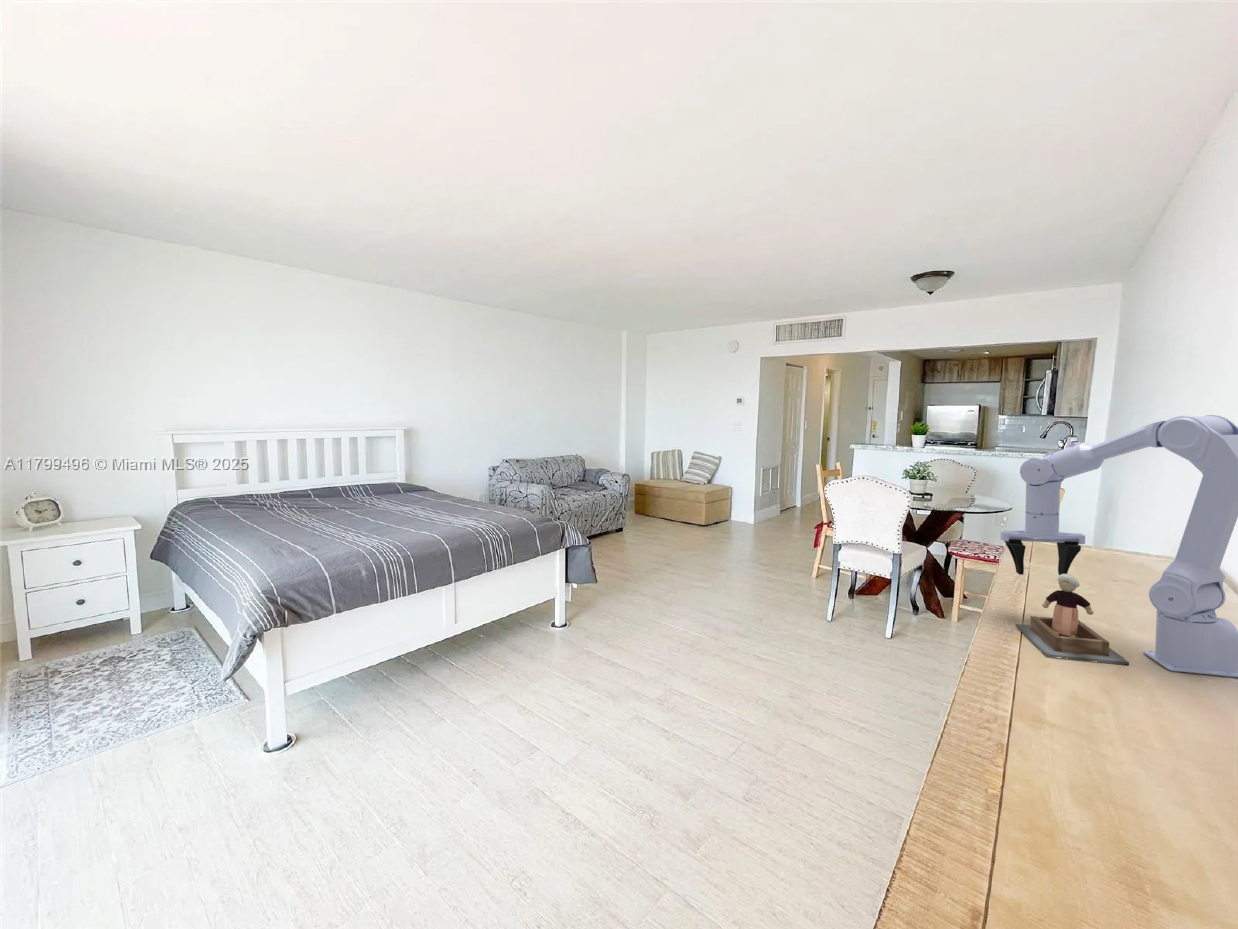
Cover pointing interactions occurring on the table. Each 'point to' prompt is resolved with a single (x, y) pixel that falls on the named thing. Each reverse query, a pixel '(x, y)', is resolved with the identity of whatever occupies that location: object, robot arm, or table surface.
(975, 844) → the table surface
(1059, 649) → the wooden tray
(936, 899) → the table surface
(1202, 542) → the robot arm
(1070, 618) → the grandmother figurine
